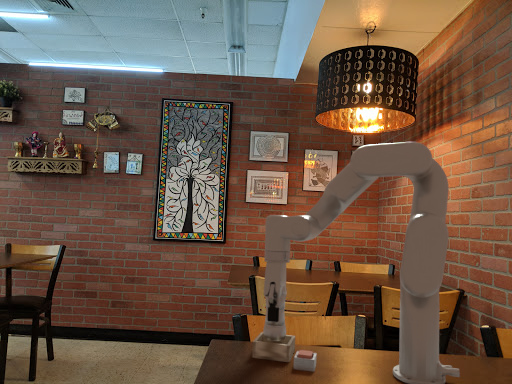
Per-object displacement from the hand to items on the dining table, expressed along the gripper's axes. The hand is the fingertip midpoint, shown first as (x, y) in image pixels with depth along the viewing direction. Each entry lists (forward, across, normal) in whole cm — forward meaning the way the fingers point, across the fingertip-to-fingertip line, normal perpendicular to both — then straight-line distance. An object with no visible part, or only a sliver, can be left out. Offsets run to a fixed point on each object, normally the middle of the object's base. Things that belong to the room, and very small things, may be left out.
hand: (275, 318), depth 118 cm
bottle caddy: (+10, 0, 0) cm, 10 cm away
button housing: (+10, +6, +10) cm, 16 cm away
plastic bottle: (+7, 0, 0) cm, 7 cm away
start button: (+10, +6, +10) cm, 16 cm away
